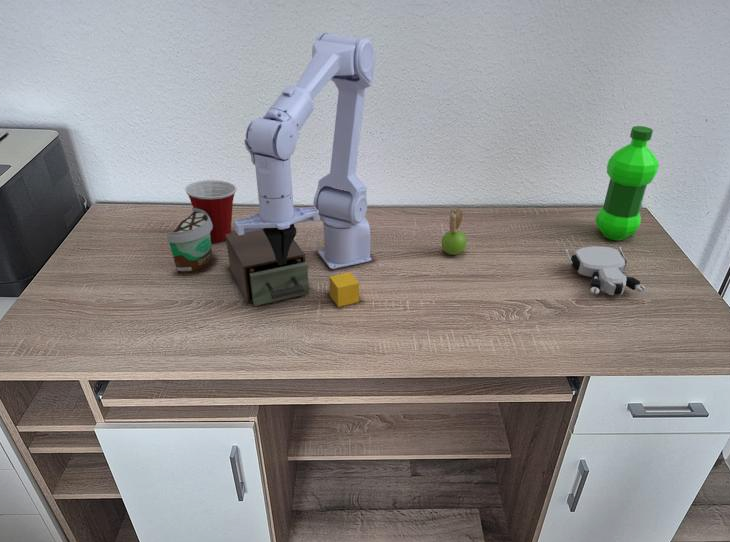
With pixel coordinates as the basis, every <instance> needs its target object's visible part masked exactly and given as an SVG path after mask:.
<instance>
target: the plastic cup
mask: <svg viewBox="0 0 730 542" xmlns="http://www.w3.org/2000/svg"><path fill="white" fill-rule="evenodd" d="M237 189H238V188H237V186H236V185H235V184H233V183H232V182H229V181H224V180H215V179H210V180H209V179H207V180H198V181H195V182H191V183H190V184H187V186H185V188H184V191H185V193H186V195H187V196H188V198H189V201H190V203H191V206H192V208H197V209H200V210H203V211H205V212H206V213H207V214H208V216H209V217H210V219H211V222H212V225H213V228H212V230H211V231H210V238H211V244H212V243H213V244H215V243H216V244H217V243H223V242H226V236H225V234H230V233H232V220H233V205H234V197H235V194H236V192H237Z"/></svg>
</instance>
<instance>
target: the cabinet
mask: <svg viewBox="0 0 730 542" xmlns="http://www.w3.org/2000/svg"><path fill="white" fill-rule="evenodd" d="M225 236H226V241H225V242H226V247H227V248H226V250H227V257H228V263H229V270H230V271H231V273H232V275H233V277H234V279H235V280H236V283H237V285H238V286H239V288H240V290H241V292H242V294H243V296H244V298H245V300H246V302H247V303H248V304H249V303H253V299H252V295H251V293H250V292H249V286H248V277H247V268H252V267H256V266H261V265H266V264H271V263H276V262H277V261H276V258H275V255H274V252H273V249H272V247H271V244H270V242H269V240H268V238H267V237H266V235H265V233H264V232H263V230H256V231H251V232H245V233H244V235H238V234H237V232H236V231H235V232H231V233H230V234H225ZM296 258H300V259H301V263H303V262H305V263H306V264H307V262H306V261H307V259H306V253H305V252H304V250H302V248H301V247H300V246H299V244H298V243H297V241H296V240H295V238H294V239H293V241H292V243H291V246H290V248H289V252H288V256H287V260H291V259H296Z"/></svg>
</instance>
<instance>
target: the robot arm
mask: <svg viewBox="0 0 730 542" xmlns="http://www.w3.org/2000/svg"><path fill="white" fill-rule="evenodd" d="M375 62H376V51H375V49H374V46H373V43H372V41H371V40H370V38H368V37H355V36H348V35H340V34H333V33H329V32H325V31H323V32H320V33H319V34H318V36H317V37H316V38H315V40H314V42H313V43H312V46H311V60H310V61H309V63H308V65H307V66H306V68H305V70H304V72H303V73H302V74H301V76H300V78H299V79H298V81H297V82H296V84H295V85H290V86H287V87H286V86H285V88H284V89H283V90H282V91H281V92H280V94H279V96H278V97H277V98H276V100H274V102H273V103H272V104H271V106H270V107H269V108H268V110H267V112H266V113H265V114H264V115H263V117H258V118H255V119H253V120H252V121H251V122H250V123H249V124H248V126H247V127H246V131H245V139H243V140H244V146H245V149H246V150H247V153H249V155H250V160H251V163H252V165H254V166H255V167H254V168H255V176H256V177H255V178H256V188H257V195H258V196H257V197H258V207H259V212H257V213H255V214H252V215H249V216H247V217H243V218H240V219H235V220H234V221H233V222H234V229H235V232H237V234H238V235H244V233H245V232H251V231H256V230H263V232H264V233H265V235H266V237H267V238H268V240H269V242H270V244H271V247H272V249H273V252H274V255H275V258H276V261H277V263H278V265H284V264H286V262H287V256H288V252H289V248H290V246H291V243H292V241H293V239H294V240H295V237H296V236H297V228H296V226H295V224H299V223H307V222H311V221H312V222H314V223H315V222H319V221H320V222H323V223H322V224H323V246H324V247H323V248H324V249H320V250H318V251H317V253H318V256H319V257H320V258H321V259H322V260H323V261H324V263H325V264H326V265H327V266H328V268H329V269H330V270H337V269H340V268H345V267H349V266H354V265H359V264H363V263H368V262H372V260H373V258H372V257H371V228H370V223H369V221H368V219H367V218H366V214H367V210H368V201H367V192H368V191H367V189H368V188H367V186H366V185H365V183H364V182H363V181H362V180H361V179H360V178H359V177H358V176H357V175H356V173H357V167H358V166H357V164H358V156H359V149H360V148H359V147H360V142H361V141H360V140H361V132H362V125H363V115H364V107H365V98H366V90H367V88H369V87H371V86H372V83H373V79H374V71H375ZM330 81H331V82H333V83H334V85H335V86H336V88H337V91H338V93H337V101H336V105H337V106H336V112H335V120H334V121H335V123H334V130H333V131H334V132H333V140H332V141H333V142H332V151H331V160H330V170H329V173H327V174H326V175H325V176H323V177H321V178H320V179H319V180H318V183H317V188H316V191H315V194H314V197H313V206H309V207H294V197H293V181H292V167H291V157H292V155H294V153H295V151H296V147H297V142H298V139H299V137H300V130H301V129H302V127H303V126H304V125H305V123H306V122H307V121H308V119H309V117H310V116H311V115H312V114H313V112H314V107H315V106H314V99H315V98H316V97H317V95H319V93H320V92H321V91H322V90H323V89H324V87H325V86H326V85H327V84H328V83H329V82H330Z"/></svg>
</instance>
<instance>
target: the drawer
mask: <svg viewBox="0 0 730 542" xmlns="http://www.w3.org/2000/svg"><path fill="white" fill-rule="evenodd" d="M247 277H248V286H249V292H250V293H251V295H252V299H253V302H252V305H253V306H254V307H256V306H262V305H266V304H270V303H274V302H275V303H276V302H278V301H283V300H287V299H293V298H296V297H300V296H306V295H308V294H310V292H309V289H310V288H309V275H308V264H307V262H306V263H305V262H303V263H301V259H300V258H296V259H291V260H287V262H286V264H284V265H278V263H277V262H276V263H271V264H266V265H261V266H256V267H252V268H247Z"/></svg>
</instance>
